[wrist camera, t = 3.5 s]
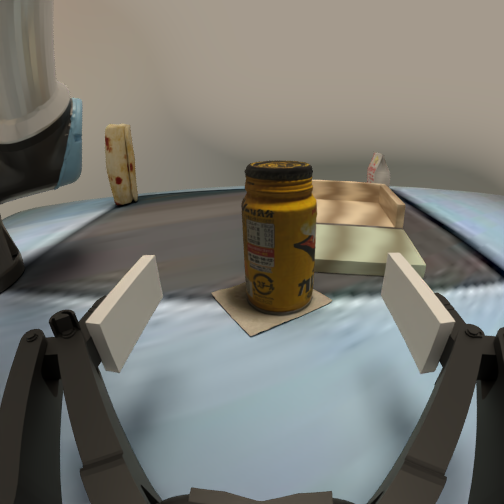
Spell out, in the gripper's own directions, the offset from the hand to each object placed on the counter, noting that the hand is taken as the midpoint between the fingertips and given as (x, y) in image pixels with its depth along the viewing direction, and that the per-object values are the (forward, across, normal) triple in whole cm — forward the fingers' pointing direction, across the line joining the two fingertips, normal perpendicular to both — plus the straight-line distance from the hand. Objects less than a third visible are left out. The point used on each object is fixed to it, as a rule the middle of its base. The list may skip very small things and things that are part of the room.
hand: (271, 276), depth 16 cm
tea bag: (+52, +24, -7) cm, 58 cm away
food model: (+50, -36, -7) cm, 62 cm away
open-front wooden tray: (+27, +9, -7) cm, 29 cm away
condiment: (+8, 0, -7) cm, 11 cm away
